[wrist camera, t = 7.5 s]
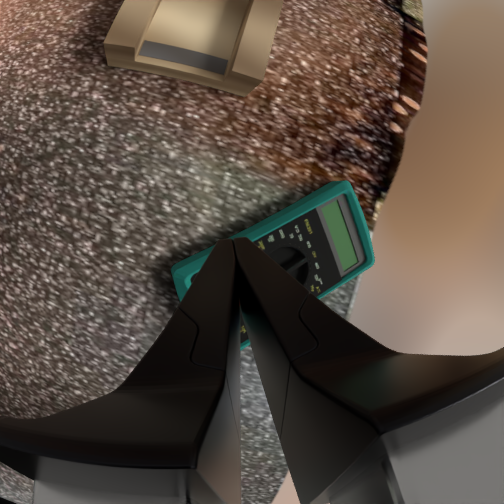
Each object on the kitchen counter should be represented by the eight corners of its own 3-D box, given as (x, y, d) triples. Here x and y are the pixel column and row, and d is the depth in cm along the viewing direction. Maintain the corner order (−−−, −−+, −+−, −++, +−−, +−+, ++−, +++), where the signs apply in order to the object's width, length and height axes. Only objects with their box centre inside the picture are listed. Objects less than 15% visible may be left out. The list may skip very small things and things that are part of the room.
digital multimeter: (160, 269, 21) (163, 280, 18) (333, 178, 24) (356, 177, 21) (209, 351, 23) (219, 370, 20) (360, 257, 26) (383, 264, 23)
